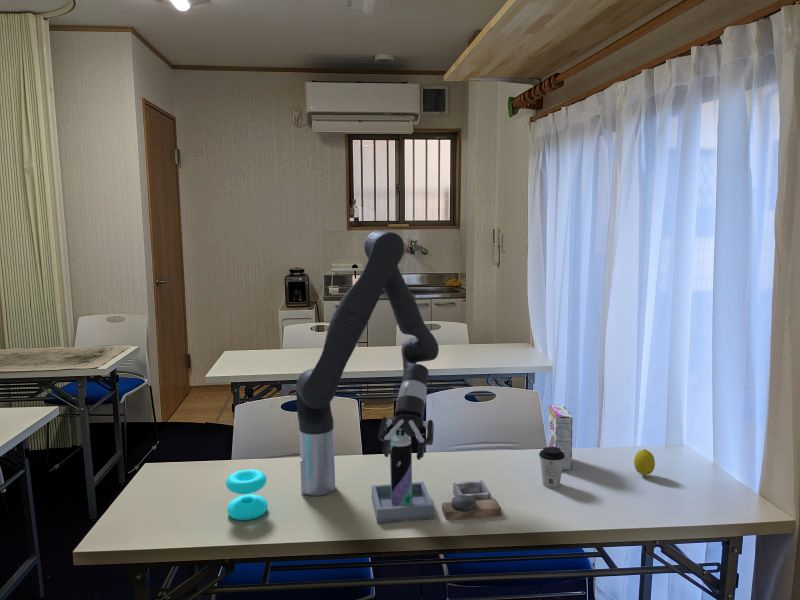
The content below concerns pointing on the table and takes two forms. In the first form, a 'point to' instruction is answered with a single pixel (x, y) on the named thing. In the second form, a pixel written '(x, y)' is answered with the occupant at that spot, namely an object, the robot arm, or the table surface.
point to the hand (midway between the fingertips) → (402, 457)
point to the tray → (417, 511)
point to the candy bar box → (561, 432)
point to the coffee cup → (551, 466)
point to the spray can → (401, 469)
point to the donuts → (249, 503)
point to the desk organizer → (470, 502)
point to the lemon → (644, 462)
